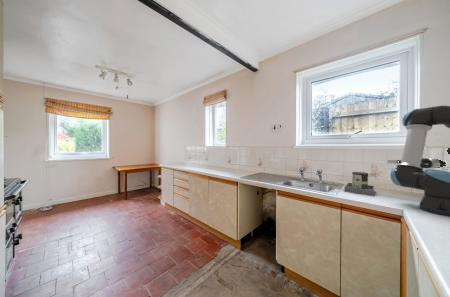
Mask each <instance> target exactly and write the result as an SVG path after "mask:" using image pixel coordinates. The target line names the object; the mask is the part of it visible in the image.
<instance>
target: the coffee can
mask: <svg viewBox="0 0 450 297" xmlns="http://www.w3.org/2000/svg"><path fill="white" fill-rule="evenodd" d="M351 173H352V174H351V177H352V178H351V179H352V180H351V181H352V182H351V183H352V187H355V188H362V189H368V185H369V173H368V172H362V171H352V172H351Z"/></svg>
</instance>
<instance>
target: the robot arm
mask: <svg viewBox="0 0 450 297" xmlns="http://www.w3.org/2000/svg"><path fill="white" fill-rule="evenodd" d="M402 116H403V117H402V120H401V121H402V125H403V127H404V128H405V129H406V130H407V133H406V134H407V135H406V139H405V144H404V146H403V147H404V148H403V153H402V157H401V160H400V159H387V160H386V163H387V164H395V165H396V167H392V169H391V170H390V174H389V175H390V179H391V181H392V184H394V185H395V186H399V187H403V188H408V189H414V190H419V191H420V190H421V191H423V192H424V193H423V197H422V198H421V200H420V202H419V206H418V207H419V209H421V210H423V211H425V212H428V213H433V214H436V215H442V216H448V217H450V172H449V171H445V170H442V169H434V168H440V167H443V166H446V165H445V164H446V163H445V162H443V161H441V160H438V159H436V158H433V159H431V157H430V158H429V159H428V158H427V157H423V154H424V150H425V145H426V140H427V136H428V131H431V130H432V129H433V126H437V125H443V126H445V128H448V129H450V105H437V106H430V107H422V108H415V109H410V110H407V111H406V112H405V113H404V114H403V115H402ZM447 152H448V154H450V148H448V150H447ZM398 161H399V163H398ZM439 166H440V167H439ZM431 168H433V169H431Z"/></svg>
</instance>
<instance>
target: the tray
mask: <svg viewBox="0 0 450 297" xmlns="http://www.w3.org/2000/svg"><path fill="white" fill-rule="evenodd" d="M375 190H376V186H375V185H370V184H368V189H362V188H355V187H352V182H347V183H346V184H345V185H344V192H349V193H353V194H354V193H355V194H362V195H368V196H375V192H376V191H375Z"/></svg>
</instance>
